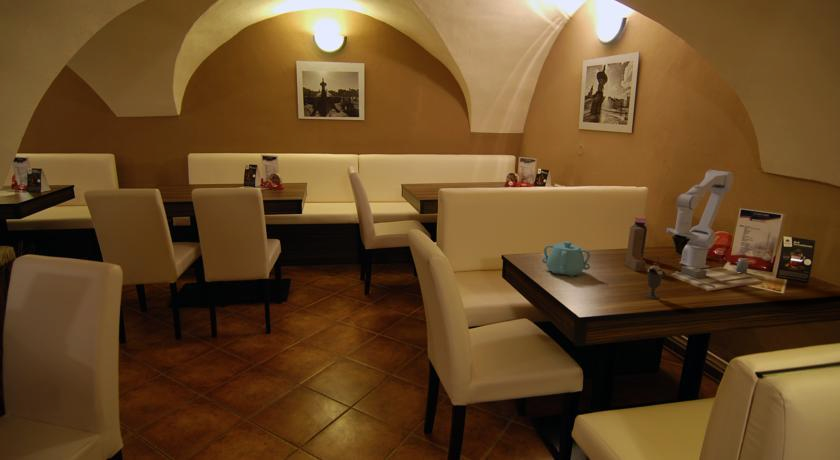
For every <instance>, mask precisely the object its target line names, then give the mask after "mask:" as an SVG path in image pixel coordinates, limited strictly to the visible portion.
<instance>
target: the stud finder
mask: <svg viewBox="0 0 840 460" xmlns="http://www.w3.org/2000/svg"><path fill="white" fill-rule="evenodd" d="M704 269H705V268H698V267H695V266H687V265H684V266H681V270H680V272H681V273H683V274H685V275H688V276H690V277H693V278H696V279H698V278H705V277H706V273H707V271H706V270H704Z"/></svg>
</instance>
